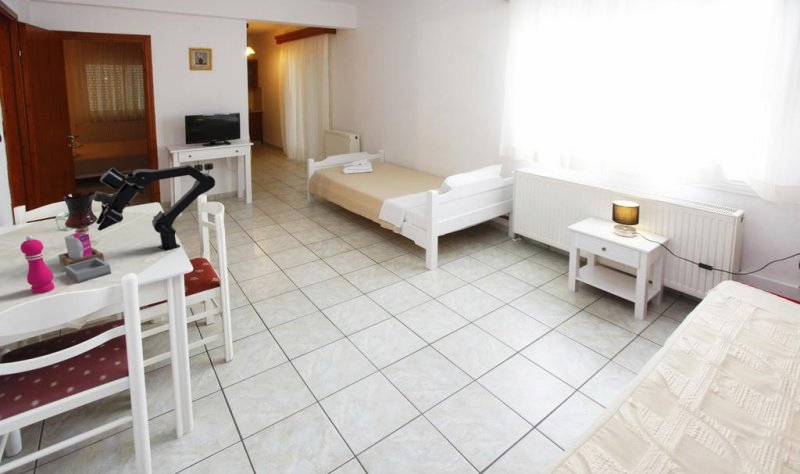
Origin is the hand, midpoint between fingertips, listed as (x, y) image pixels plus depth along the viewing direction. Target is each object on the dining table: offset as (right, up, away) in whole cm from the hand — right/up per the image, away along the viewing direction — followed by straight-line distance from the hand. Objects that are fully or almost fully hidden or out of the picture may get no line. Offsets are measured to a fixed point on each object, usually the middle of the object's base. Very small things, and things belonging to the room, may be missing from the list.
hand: (97, 226), depth 182 cm
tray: (+3, -18, -10) cm, 21 cm away
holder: (-6, -14, 0) cm, 15 cm away
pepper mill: (-4, -23, -22) cm, 32 cm away
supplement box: (-6, -14, +1) cm, 16 cm away
